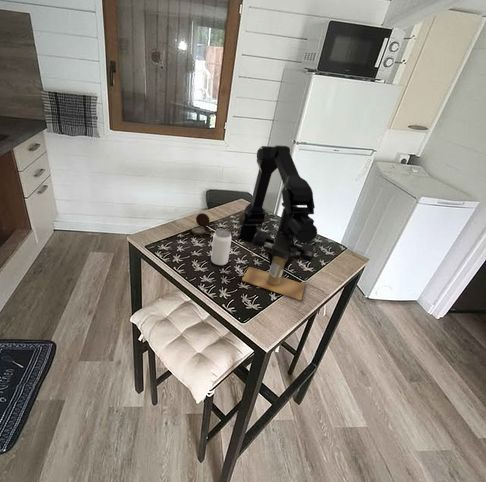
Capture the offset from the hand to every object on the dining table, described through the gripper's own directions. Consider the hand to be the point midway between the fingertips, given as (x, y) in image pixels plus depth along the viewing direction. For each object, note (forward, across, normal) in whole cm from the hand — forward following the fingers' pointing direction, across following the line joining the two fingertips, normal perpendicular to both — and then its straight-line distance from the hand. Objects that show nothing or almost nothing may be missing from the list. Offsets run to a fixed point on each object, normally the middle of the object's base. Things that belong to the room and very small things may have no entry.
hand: (277, 266), depth 92 cm
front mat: (+7, 0, 0) cm, 7 cm away
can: (+7, -21, +2) cm, 22 cm away
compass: (+7, -36, +18) cm, 41 cm away
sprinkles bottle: (+6, 0, 0) cm, 7 cm away
